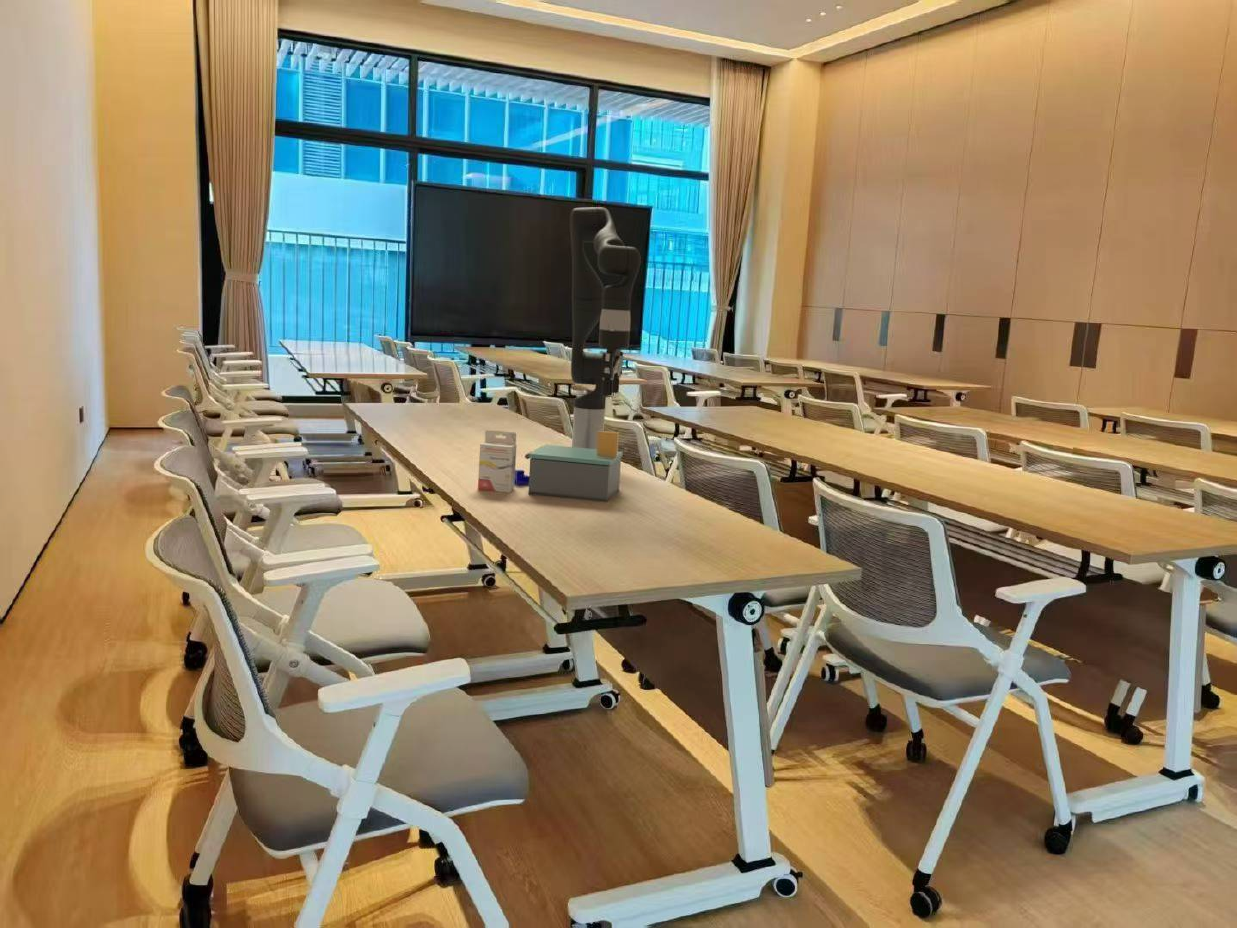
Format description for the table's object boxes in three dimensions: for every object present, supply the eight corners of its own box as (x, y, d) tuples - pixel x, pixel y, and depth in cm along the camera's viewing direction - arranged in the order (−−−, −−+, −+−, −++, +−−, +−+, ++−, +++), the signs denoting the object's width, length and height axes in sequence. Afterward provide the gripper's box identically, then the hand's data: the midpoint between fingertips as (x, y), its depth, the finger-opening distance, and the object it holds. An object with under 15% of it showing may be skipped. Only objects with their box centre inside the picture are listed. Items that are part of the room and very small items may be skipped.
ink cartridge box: (477, 490, 236) (479, 432, 233) (481, 486, 240) (484, 429, 238) (510, 492, 235) (513, 434, 232) (514, 489, 240) (517, 432, 237)
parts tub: (545, 483, 250) (546, 449, 248) (618, 490, 246) (621, 456, 245) (528, 494, 234) (530, 458, 233) (606, 502, 231) (609, 466, 229)
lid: (541, 449, 249) (543, 421, 247) (622, 457, 245) (624, 428, 244) (523, 459, 233) (525, 429, 231) (610, 467, 229) (612, 437, 228)
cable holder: (528, 485, 246) (529, 470, 245) (516, 486, 244) (517, 471, 244) (517, 480, 253) (518, 465, 252) (505, 480, 251) (506, 465, 251)
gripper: (605, 327, 239) (601, 390, 242) (593, 328, 225) (589, 395, 228) (634, 329, 238) (630, 393, 241) (624, 330, 224) (620, 397, 227)
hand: (610, 394), depth 234 cm, fingers open, 8 cm apart
